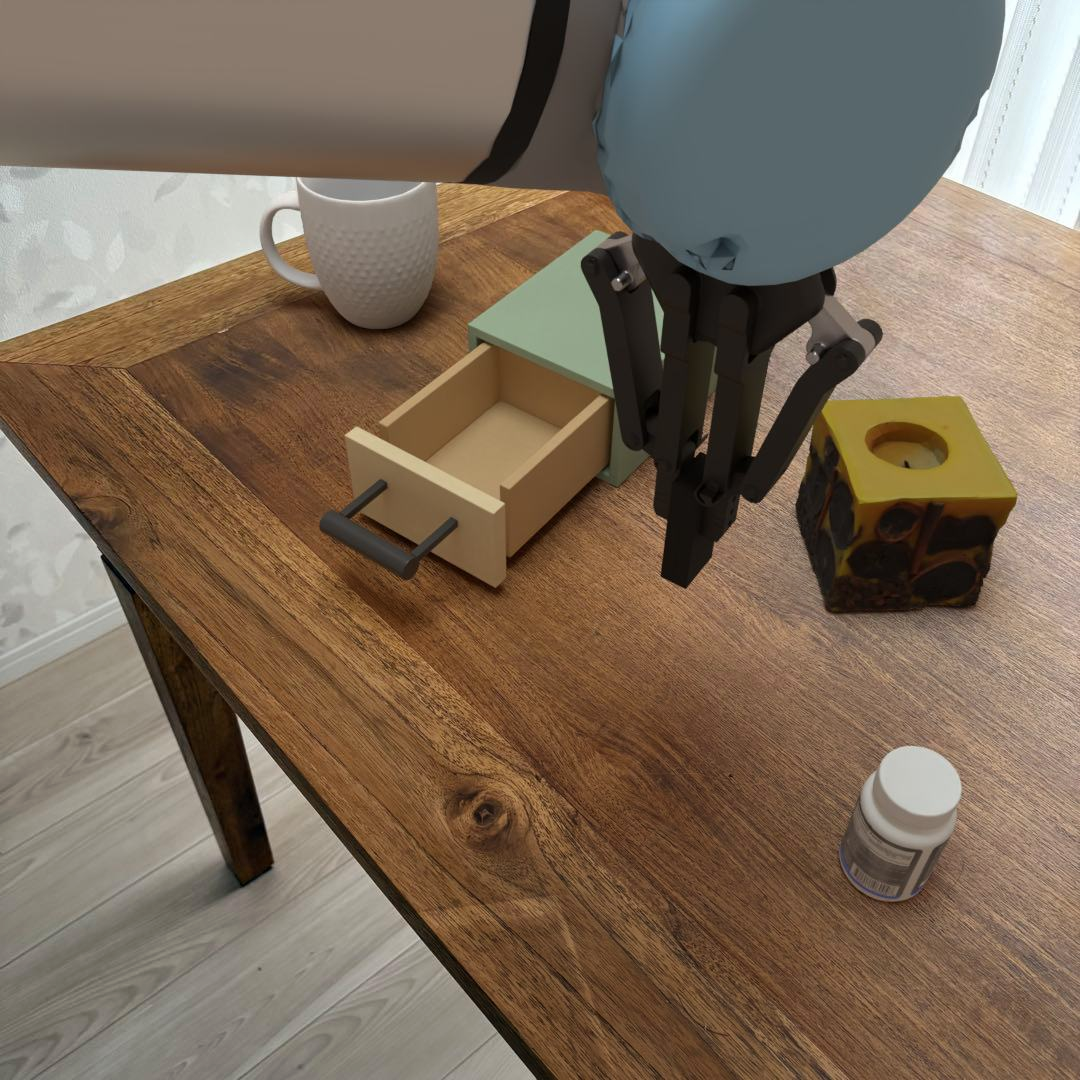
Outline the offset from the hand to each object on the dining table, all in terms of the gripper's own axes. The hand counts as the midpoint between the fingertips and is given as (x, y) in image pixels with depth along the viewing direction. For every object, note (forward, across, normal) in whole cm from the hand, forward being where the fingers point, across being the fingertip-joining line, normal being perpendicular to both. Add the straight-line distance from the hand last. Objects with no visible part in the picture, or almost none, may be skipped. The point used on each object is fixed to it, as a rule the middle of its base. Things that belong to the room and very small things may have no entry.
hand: (686, 566), depth 57 cm
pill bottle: (+14, -14, +1) cm, 20 cm away
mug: (+14, +43, -23) cm, 50 cm away
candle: (+14, -5, -20) cm, 25 cm away
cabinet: (+14, +20, -24) cm, 34 cm away
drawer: (+13, +20, -7) cm, 25 cm away
